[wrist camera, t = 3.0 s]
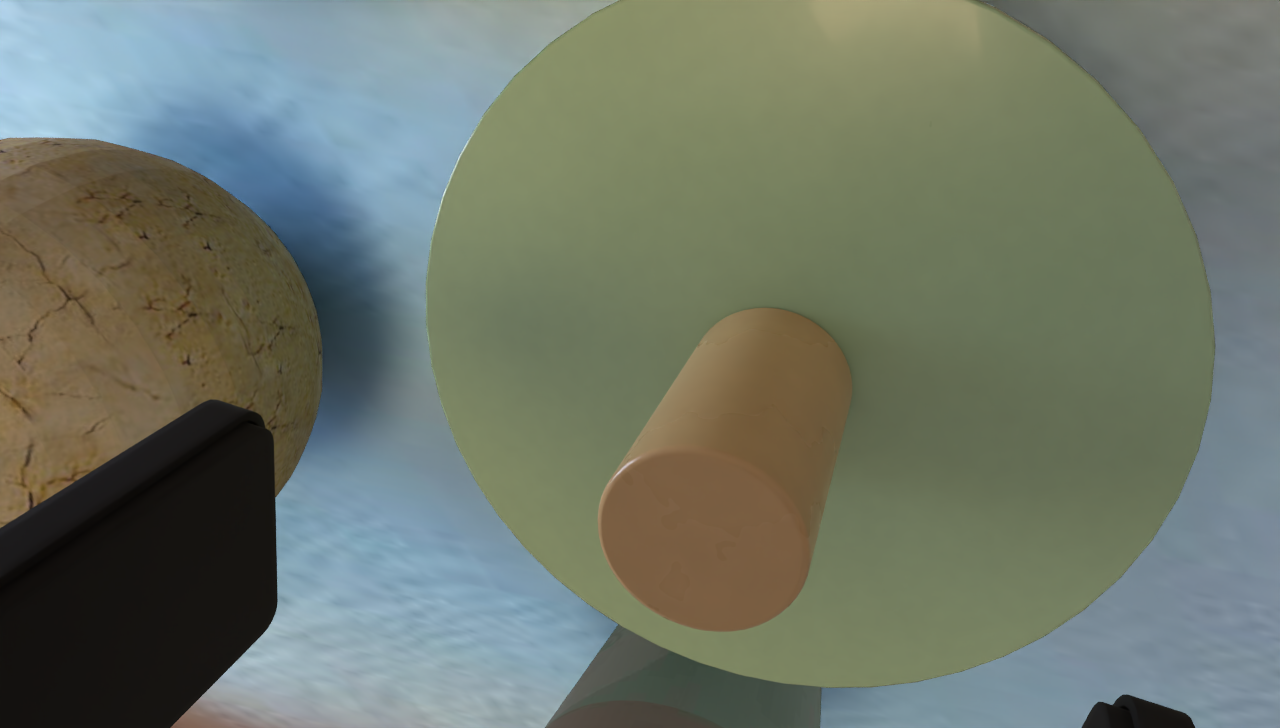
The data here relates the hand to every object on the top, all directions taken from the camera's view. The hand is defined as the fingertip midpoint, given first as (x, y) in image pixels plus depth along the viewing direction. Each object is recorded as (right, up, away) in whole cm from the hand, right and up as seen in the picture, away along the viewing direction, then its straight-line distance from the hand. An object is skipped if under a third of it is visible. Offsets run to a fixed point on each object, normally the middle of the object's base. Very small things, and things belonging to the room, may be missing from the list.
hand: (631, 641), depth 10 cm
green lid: (+3, +3, +6) cm, 7 cm away
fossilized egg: (-13, +6, +22) cm, 26 cm away
